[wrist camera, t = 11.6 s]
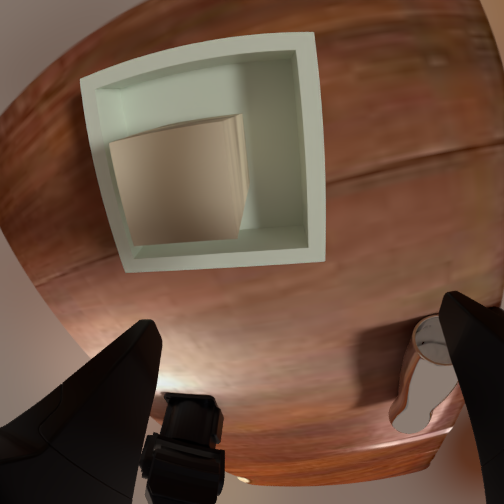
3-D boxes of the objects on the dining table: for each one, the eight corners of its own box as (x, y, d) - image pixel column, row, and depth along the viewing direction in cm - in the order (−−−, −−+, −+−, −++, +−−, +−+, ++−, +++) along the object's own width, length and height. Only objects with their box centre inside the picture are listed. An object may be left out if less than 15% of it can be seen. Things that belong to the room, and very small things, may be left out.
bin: (145, 244, 22) (125, 272, 18) (111, 79, 16) (79, 79, 12) (315, 232, 21) (324, 261, 17) (304, 46, 14) (313, 32, 11)
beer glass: (441, 425, 25) (488, 352, 18) (393, 444, 26) (428, 379, 18) (423, 385, 31) (454, 305, 24) (378, 400, 32) (398, 323, 24)
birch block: (182, 189, 19) (134, 246, 12) (171, 123, 17) (108, 142, 10) (249, 182, 18) (237, 238, 11) (242, 113, 16) (222, 121, 9)
